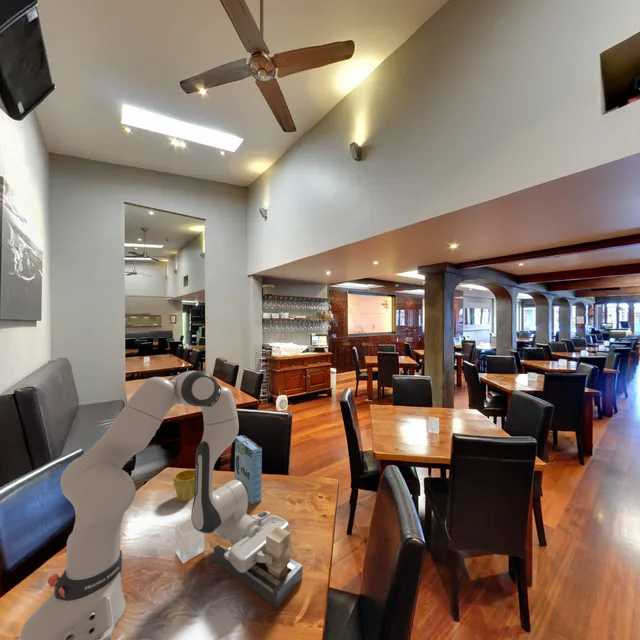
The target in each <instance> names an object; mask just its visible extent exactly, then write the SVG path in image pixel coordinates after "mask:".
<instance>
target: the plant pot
mask: <svg viewBox="0 0 640 640" xmlns="http://www.w3.org/2000/svg"><path fill="white" fill-rule="evenodd" d="M173 486H174V488H175V494H176V498H177V500H178V501H179V502H188V501H190V500H193V499H194V486H195V469H193V468H192V469H183V470H181V471H179V472H177V473H176V474H174V476H173Z"/></svg>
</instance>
